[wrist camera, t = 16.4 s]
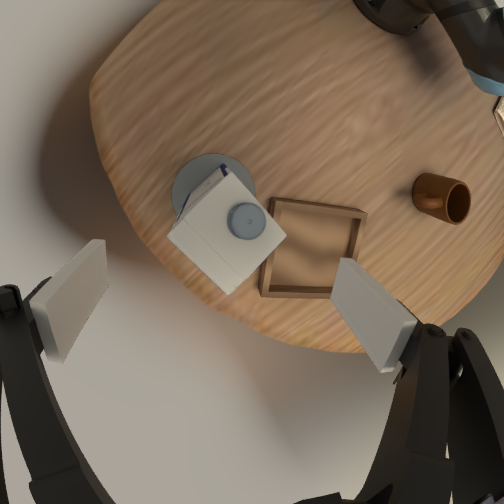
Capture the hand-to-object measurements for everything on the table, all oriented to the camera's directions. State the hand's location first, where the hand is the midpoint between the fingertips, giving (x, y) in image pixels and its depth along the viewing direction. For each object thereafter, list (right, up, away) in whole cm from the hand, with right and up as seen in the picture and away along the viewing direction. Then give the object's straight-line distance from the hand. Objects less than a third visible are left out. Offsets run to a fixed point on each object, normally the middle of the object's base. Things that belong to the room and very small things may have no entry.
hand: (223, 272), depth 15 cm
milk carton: (-3, +9, +25) cm, 27 cm away
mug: (+32, +12, +30) cm, 45 cm away
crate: (+11, +2, +30) cm, 32 cm away
